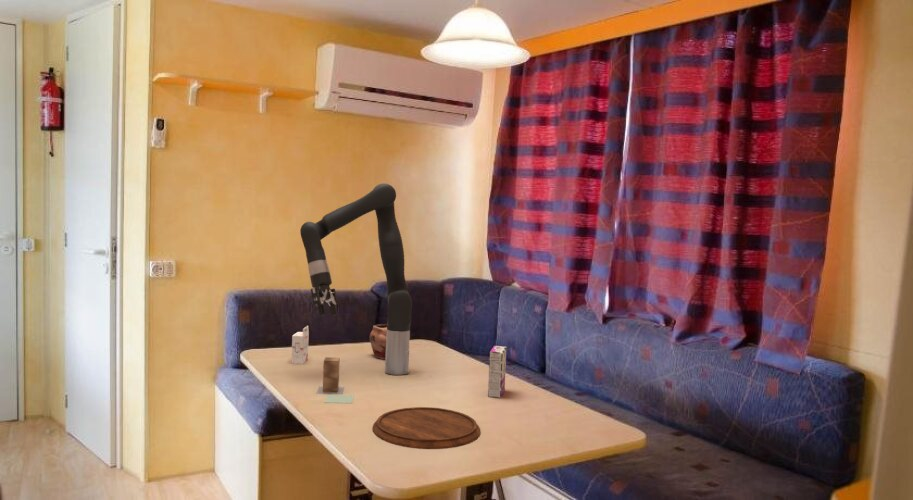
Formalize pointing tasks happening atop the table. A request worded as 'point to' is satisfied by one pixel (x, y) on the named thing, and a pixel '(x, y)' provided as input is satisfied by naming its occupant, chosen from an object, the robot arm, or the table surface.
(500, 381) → the candy bar box
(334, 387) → the walnut block
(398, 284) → the robot arm
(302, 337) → the ink cartridge box
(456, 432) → the cutting board
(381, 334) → the decorative planter
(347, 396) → the sage mat
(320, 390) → the tile
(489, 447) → the table surface
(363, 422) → the table surface
